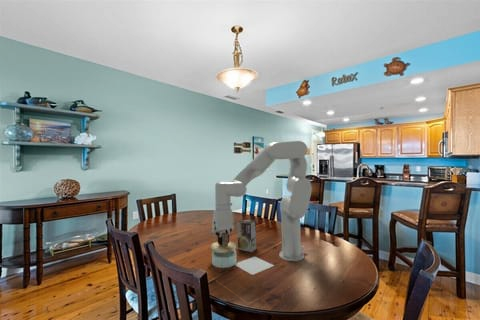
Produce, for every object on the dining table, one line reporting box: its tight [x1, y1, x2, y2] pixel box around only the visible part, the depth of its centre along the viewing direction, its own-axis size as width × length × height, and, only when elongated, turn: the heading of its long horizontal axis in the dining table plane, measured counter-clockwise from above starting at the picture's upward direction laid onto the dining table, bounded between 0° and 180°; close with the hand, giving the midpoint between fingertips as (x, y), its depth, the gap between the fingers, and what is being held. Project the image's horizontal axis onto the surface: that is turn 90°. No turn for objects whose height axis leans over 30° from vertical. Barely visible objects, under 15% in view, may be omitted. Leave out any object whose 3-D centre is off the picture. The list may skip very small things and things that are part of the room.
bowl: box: [211, 249, 238, 269], centre depth 119 cm, size 12×12×5 cm
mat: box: [234, 256, 275, 276], centre depth 115 cm, size 14×14×1 cm
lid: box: [210, 231, 238, 253], centre depth 119 cm, size 13×13×7 cm
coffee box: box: [236, 219, 257, 253], centre depth 136 cm, size 9×6×16 cm
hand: (223, 243), depth 119 cm, fingers closed on lid, 3 cm apart
